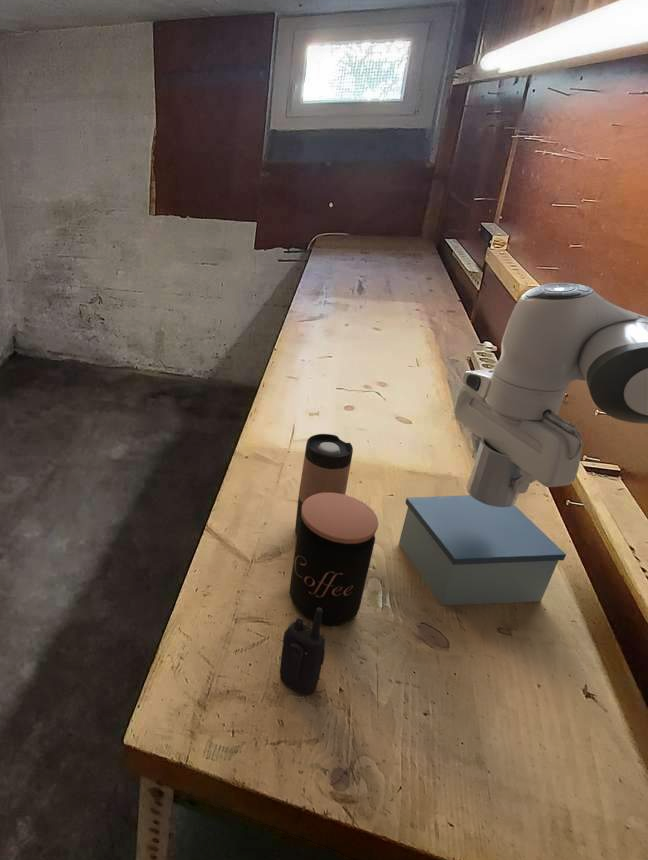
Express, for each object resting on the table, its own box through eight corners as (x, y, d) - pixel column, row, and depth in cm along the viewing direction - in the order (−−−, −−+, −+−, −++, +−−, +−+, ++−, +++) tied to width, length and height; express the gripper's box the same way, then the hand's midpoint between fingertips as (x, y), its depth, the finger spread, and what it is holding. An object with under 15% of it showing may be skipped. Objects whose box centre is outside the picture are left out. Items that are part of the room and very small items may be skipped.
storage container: (487, 538, 102) (502, 493, 98) (545, 603, 89) (566, 554, 84) (395, 542, 102) (406, 497, 98) (439, 607, 89) (455, 559, 84)
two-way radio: (321, 686, 78) (337, 608, 71) (307, 709, 75) (322, 631, 68) (284, 663, 81) (295, 587, 74) (269, 684, 78) (280, 607, 71)
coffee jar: (275, 603, 91) (287, 515, 83) (308, 567, 97) (321, 483, 89) (339, 642, 84) (359, 550, 76) (369, 601, 90) (390, 513, 82)
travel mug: (294, 546, 102) (307, 454, 93) (292, 519, 109) (304, 431, 100) (339, 552, 100) (357, 459, 91) (334, 524, 107) (350, 435, 98)
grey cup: (506, 484, 90) (523, 436, 86) (523, 510, 85) (541, 460, 81) (461, 479, 92) (475, 432, 88) (474, 504, 86) (489, 455, 82)
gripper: (609, 430, 71) (573, 516, 78) (493, 365, 90) (471, 438, 96) (563, 435, 71) (530, 520, 77) (456, 368, 89) (436, 441, 95)
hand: (497, 474), depth 87 cm, fingers closed on grey cup, 6 cm apart
